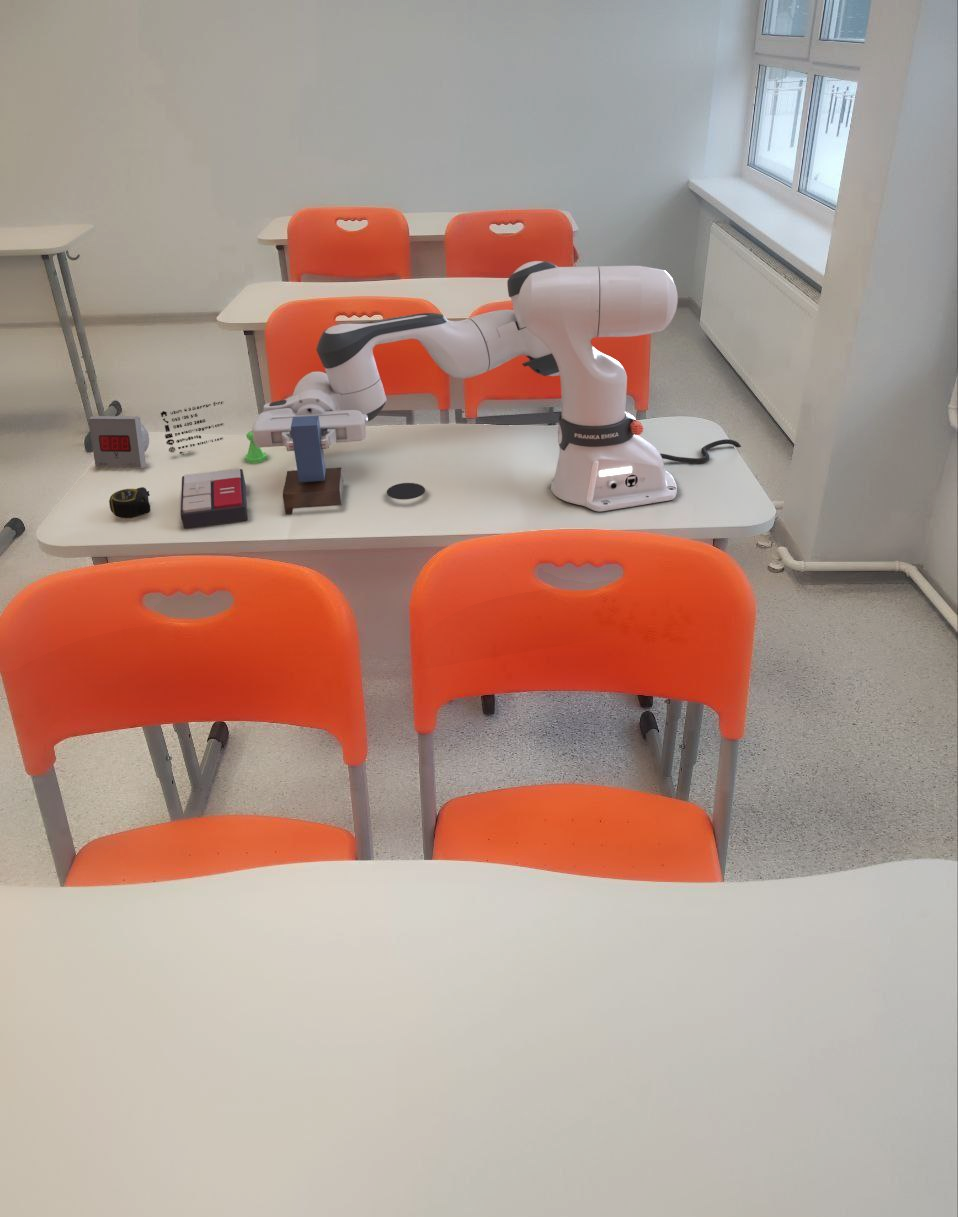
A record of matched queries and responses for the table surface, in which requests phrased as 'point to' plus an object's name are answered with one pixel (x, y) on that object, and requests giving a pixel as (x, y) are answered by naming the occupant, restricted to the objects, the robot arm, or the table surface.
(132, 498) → the tape measure
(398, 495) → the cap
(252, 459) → the game piece
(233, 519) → the calculator
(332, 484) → the stand
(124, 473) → the table surface
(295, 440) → the block
